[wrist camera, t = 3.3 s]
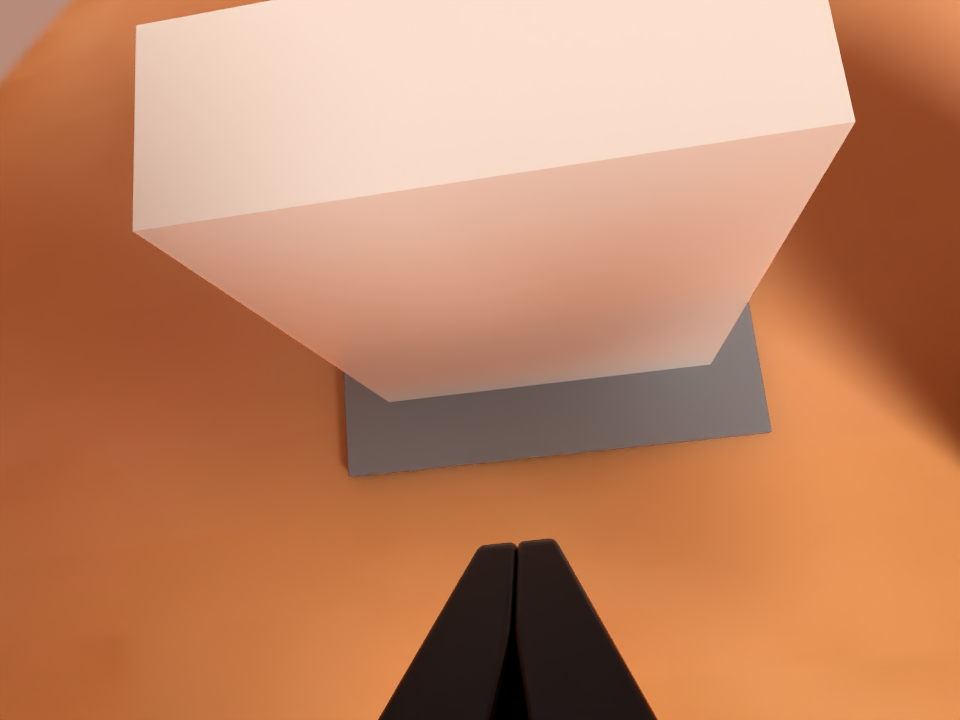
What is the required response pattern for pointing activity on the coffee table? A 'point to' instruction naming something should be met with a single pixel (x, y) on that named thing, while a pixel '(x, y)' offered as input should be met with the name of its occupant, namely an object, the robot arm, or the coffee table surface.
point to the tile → (487, 175)
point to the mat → (561, 414)
